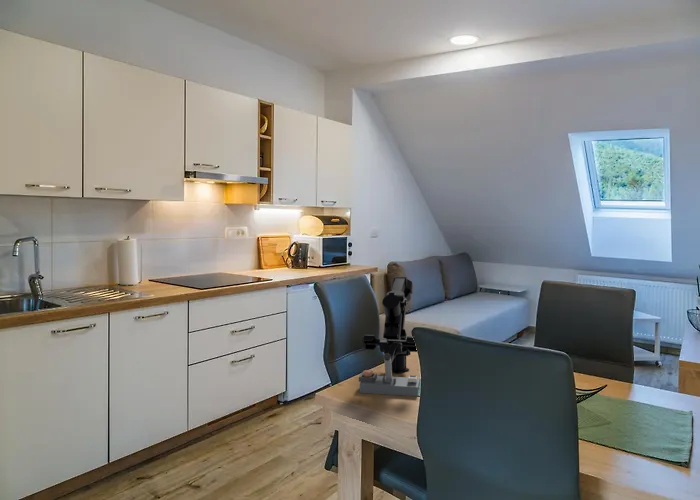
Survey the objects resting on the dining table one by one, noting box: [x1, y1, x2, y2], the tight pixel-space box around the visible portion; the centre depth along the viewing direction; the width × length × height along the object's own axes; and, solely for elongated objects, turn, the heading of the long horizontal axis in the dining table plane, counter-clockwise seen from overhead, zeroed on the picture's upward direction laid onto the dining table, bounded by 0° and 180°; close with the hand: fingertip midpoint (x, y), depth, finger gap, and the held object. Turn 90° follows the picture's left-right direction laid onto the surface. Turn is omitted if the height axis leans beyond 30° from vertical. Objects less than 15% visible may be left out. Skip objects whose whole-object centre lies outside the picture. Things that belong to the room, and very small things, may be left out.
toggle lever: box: [383, 353, 393, 382], centre depth 166 cm, size 2×2×12 cm
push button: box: [362, 369, 374, 377], centre depth 172 cm, size 3×3×2 cm
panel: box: [358, 372, 421, 397], centre depth 171 cm, size 9×20×5 cm, turn 78°
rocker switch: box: [407, 374, 418, 382], centre depth 169 cm, size 4×3×2 cm, turn 168°
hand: (388, 365), depth 167 cm, fingers closed
